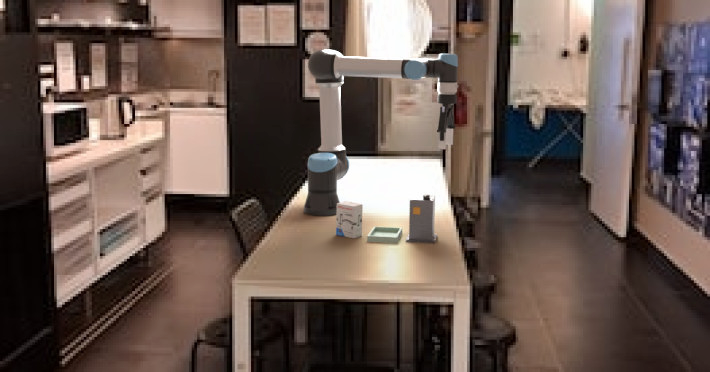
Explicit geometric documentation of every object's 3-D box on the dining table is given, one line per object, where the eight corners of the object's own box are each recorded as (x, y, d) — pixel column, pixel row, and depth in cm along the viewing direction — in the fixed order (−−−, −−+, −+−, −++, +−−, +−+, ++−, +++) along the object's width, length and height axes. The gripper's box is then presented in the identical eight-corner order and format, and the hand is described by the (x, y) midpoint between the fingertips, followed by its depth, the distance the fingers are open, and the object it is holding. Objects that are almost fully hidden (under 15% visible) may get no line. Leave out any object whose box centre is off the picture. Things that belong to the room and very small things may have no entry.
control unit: (405, 241, 272) (406, 196, 269) (409, 234, 281) (409, 191, 278) (434, 243, 270) (435, 197, 267) (437, 236, 279) (438, 192, 276)
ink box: (335, 234, 281) (335, 202, 279) (344, 232, 285) (344, 200, 283) (354, 238, 276) (354, 206, 273) (362, 236, 279) (363, 203, 277)
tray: (367, 241, 272) (367, 235, 271) (373, 231, 286) (373, 226, 285) (396, 243, 270) (397, 237, 270) (402, 233, 284) (402, 227, 283)
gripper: (450, 95, 297) (448, 151, 300) (462, 91, 320) (461, 143, 324) (430, 95, 299) (429, 150, 303) (444, 91, 322) (443, 142, 326)
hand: (445, 146), depth 313 cm, fingers open, 13 cm apart
